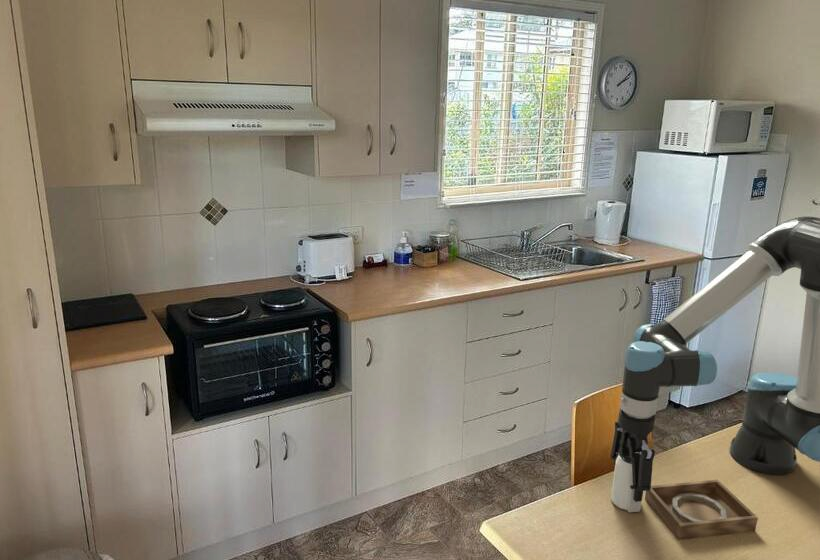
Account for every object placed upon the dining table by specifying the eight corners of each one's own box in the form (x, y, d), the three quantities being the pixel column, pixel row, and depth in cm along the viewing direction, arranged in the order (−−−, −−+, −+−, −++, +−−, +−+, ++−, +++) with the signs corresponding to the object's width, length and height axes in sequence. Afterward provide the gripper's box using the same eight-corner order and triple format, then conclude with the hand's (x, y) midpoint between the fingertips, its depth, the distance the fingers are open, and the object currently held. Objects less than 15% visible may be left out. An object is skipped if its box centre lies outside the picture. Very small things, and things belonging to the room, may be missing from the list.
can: (642, 513, 143) (648, 466, 140) (612, 509, 144) (618, 463, 141) (638, 496, 149) (644, 451, 146) (609, 492, 150) (615, 447, 147)
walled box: (715, 492, 151) (717, 479, 150) (755, 531, 138) (757, 517, 137) (644, 499, 148) (646, 486, 147) (678, 539, 135) (680, 525, 134)
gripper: (601, 392, 148) (592, 478, 155) (644, 435, 130) (631, 530, 137) (631, 390, 150) (621, 475, 156) (677, 432, 131) (663, 526, 138)
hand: (626, 500), depth 147 cm, fingers closed on can, 6 cm apart
